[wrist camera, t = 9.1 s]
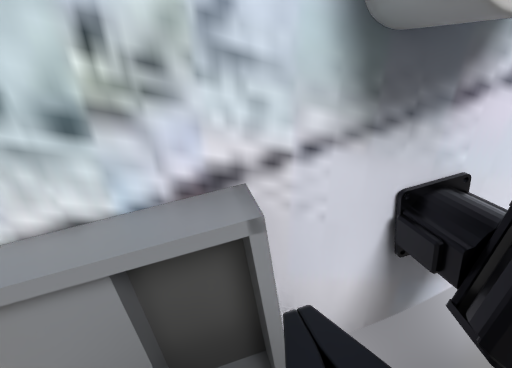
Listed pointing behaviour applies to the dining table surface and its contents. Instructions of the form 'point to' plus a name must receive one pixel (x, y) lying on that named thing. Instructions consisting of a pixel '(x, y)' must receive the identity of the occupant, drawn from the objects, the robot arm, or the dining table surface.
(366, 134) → the dining table surface
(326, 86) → the dining table surface
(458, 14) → the lumpy-topped squat cylinder
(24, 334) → the grey shallow rectangular tray
